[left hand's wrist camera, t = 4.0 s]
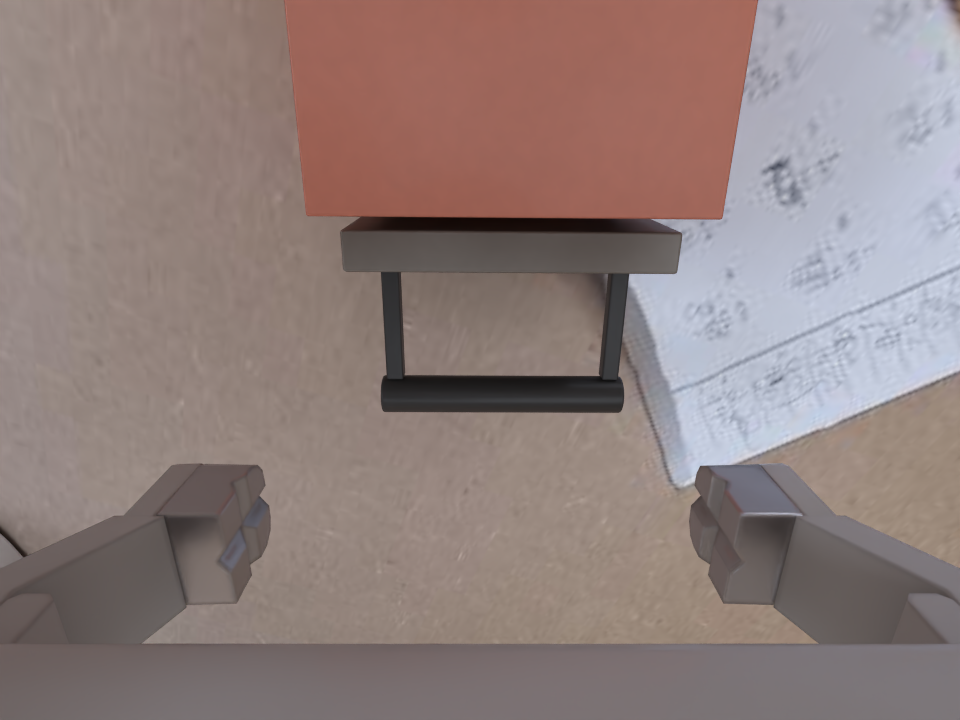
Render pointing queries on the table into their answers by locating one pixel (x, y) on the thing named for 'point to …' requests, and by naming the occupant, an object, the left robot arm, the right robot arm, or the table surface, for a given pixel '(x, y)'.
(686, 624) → the table surface
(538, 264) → the drawer
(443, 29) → the cabinet
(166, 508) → the left robot arm
